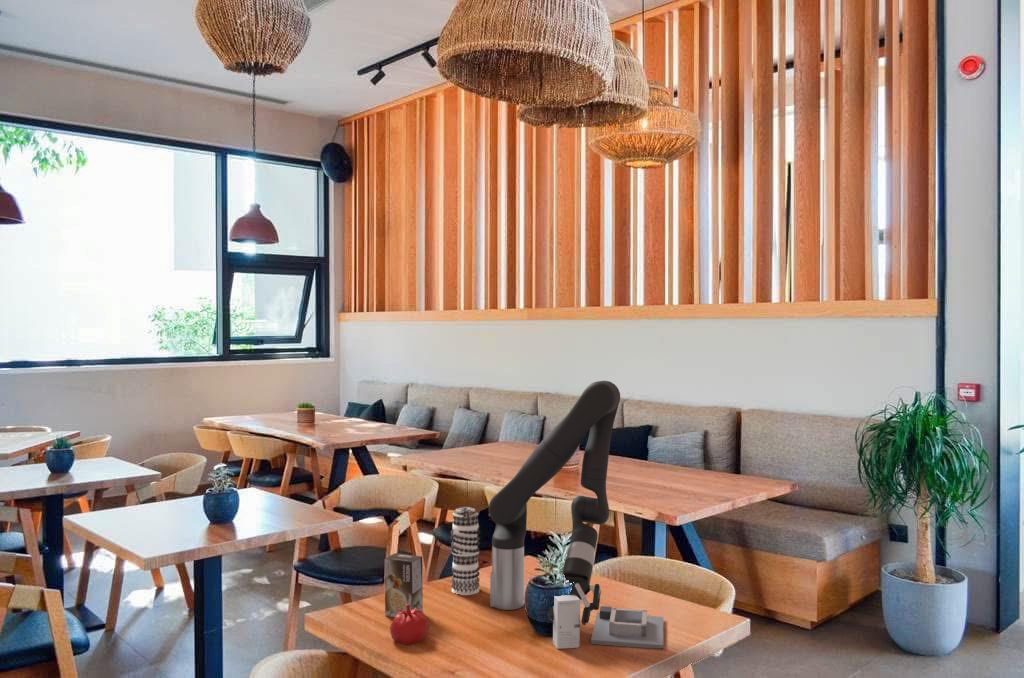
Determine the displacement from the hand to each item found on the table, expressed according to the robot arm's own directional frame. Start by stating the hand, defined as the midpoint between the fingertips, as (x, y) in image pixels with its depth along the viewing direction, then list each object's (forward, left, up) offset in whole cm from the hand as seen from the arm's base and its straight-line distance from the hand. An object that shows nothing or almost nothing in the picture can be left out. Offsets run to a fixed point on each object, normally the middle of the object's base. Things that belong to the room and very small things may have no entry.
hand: (567, 621), depth 204 cm
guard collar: (+15, +13, -6) cm, 21 cm away
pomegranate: (-40, -3, -7) cm, 41 cm away
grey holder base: (+15, +13, -6) cm, 21 cm away
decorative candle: (-35, +37, -7) cm, 51 cm away
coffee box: (-47, +14, -7) cm, 50 cm away
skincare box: (0, +1, -7) cm, 7 cm away
